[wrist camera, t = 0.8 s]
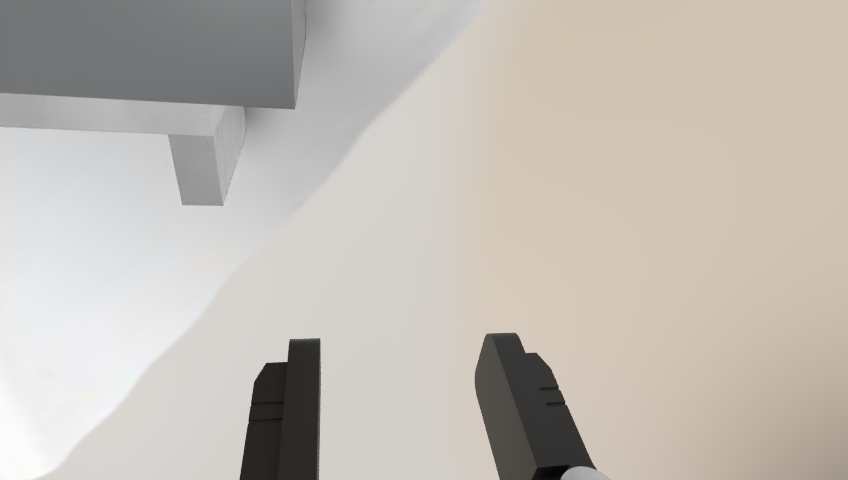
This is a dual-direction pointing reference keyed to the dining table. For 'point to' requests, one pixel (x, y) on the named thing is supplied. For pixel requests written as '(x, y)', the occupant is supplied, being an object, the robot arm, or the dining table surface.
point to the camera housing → (155, 50)
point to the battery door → (183, 122)
